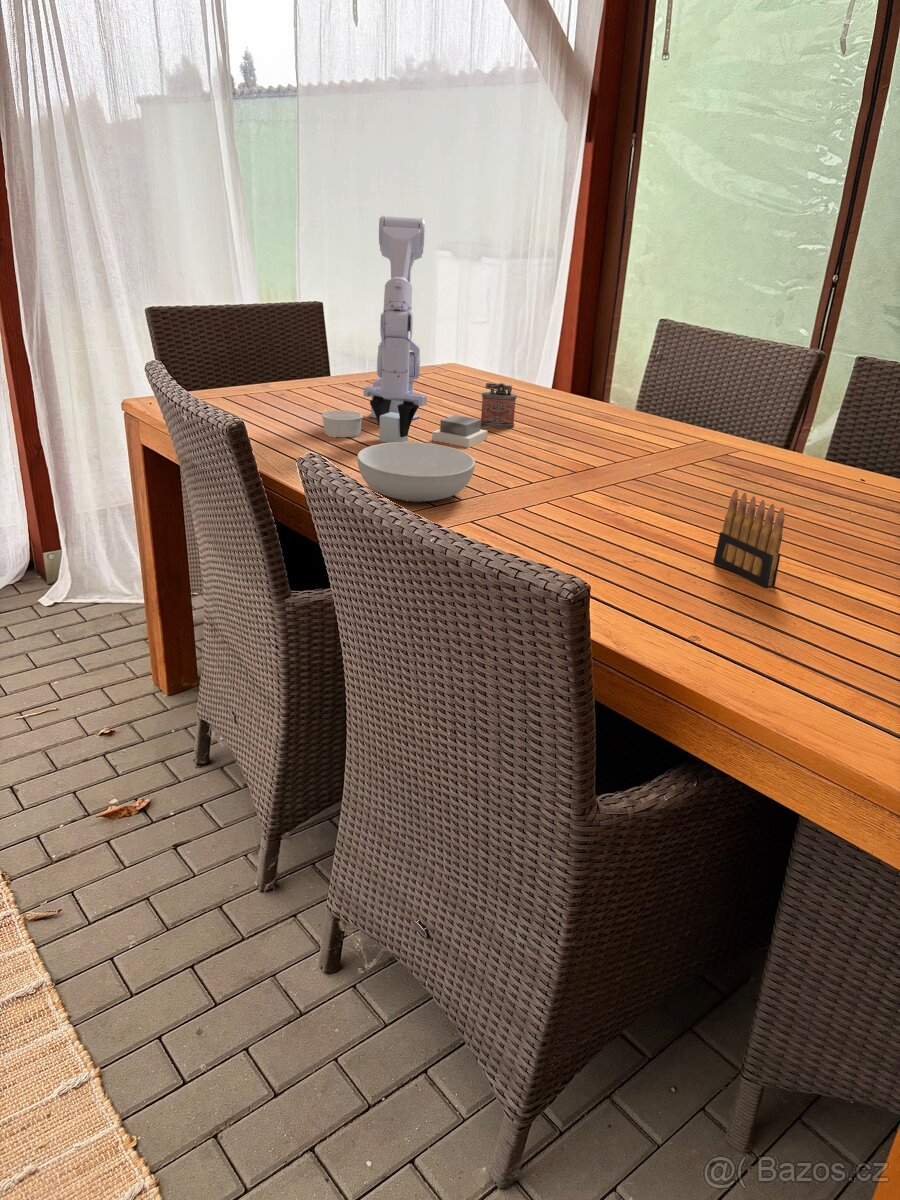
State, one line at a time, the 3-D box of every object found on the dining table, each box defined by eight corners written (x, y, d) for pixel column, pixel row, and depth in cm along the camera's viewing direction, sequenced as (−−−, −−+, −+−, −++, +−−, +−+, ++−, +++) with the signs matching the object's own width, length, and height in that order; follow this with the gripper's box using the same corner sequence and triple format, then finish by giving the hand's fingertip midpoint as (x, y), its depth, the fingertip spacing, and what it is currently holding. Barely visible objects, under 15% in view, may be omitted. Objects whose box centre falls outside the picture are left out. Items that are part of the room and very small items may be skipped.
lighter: (514, 425, 211) (517, 382, 206) (513, 428, 208) (517, 385, 203) (480, 422, 211) (483, 380, 207) (479, 426, 208) (482, 383, 204)
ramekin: (314, 435, 193) (314, 415, 192) (334, 427, 201) (334, 407, 199) (350, 441, 191) (350, 421, 189) (369, 432, 198) (369, 413, 196)
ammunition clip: (712, 562, 137) (727, 487, 132) (721, 560, 138) (736, 486, 133) (766, 588, 129) (783, 510, 124) (774, 586, 130) (792, 508, 125)
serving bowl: (385, 519, 147) (386, 479, 144) (339, 482, 164) (339, 446, 161) (494, 506, 156) (496, 468, 154) (440, 472, 173) (441, 437, 170)
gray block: (379, 441, 192) (379, 415, 189) (390, 436, 195) (390, 411, 193) (397, 444, 190) (397, 419, 187) (407, 440, 193) (408, 415, 191)
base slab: (432, 443, 195) (432, 431, 193) (451, 435, 202) (451, 424, 201) (468, 450, 191) (469, 438, 190) (486, 441, 198) (487, 430, 197)
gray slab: (440, 431, 194) (440, 420, 193) (454, 425, 199) (455, 414, 198) (466, 436, 191) (466, 425, 190) (480, 430, 197) (480, 419, 195)
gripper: (355, 368, 186) (355, 432, 192) (415, 377, 180) (413, 443, 186) (374, 363, 192) (373, 426, 197) (432, 372, 186) (430, 436, 191)
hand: (393, 434), depth 192 cm, fingers closed on gray block, 4 cm apart
